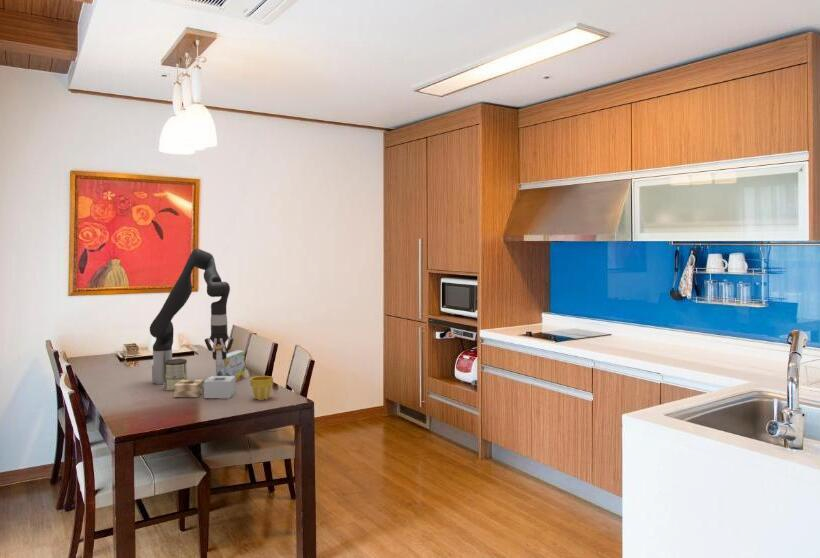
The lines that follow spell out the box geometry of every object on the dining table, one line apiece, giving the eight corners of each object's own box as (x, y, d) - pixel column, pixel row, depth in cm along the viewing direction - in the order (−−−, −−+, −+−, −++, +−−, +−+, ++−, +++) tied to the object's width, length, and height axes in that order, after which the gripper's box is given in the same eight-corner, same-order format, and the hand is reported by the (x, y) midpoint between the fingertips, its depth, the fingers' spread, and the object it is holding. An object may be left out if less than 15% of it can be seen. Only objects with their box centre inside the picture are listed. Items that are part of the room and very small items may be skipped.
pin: (214, 376, 294) (213, 346, 293) (216, 374, 298) (215, 344, 297) (223, 375, 294) (223, 346, 293) (225, 373, 298) (225, 344, 297)
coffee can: (162, 388, 310) (161, 360, 309) (181, 385, 317) (181, 358, 316) (170, 392, 302) (170, 363, 302) (190, 388, 310) (190, 360, 309)
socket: (204, 398, 290) (203, 381, 290) (210, 392, 302) (210, 376, 302) (230, 398, 291) (229, 381, 290) (235, 392, 303) (235, 375, 302)
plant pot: (254, 395, 296) (254, 375, 296) (275, 395, 296) (275, 375, 295) (247, 401, 286) (247, 380, 285) (270, 401, 286) (269, 380, 285)
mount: (174, 397, 292) (173, 385, 291) (181, 392, 303) (180, 380, 302) (197, 397, 292) (197, 384, 292) (204, 391, 303) (203, 379, 303)
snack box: (226, 386, 314) (225, 357, 313) (216, 386, 315) (215, 356, 315) (245, 377, 335) (245, 350, 334) (235, 377, 336) (235, 349, 335)
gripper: (201, 324, 290) (202, 361, 291) (232, 324, 291) (233, 360, 292) (205, 322, 298) (206, 358, 299) (235, 322, 299) (236, 357, 300)
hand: (219, 359), depth 296 cm, fingers closed on pin, 3 cm apart
